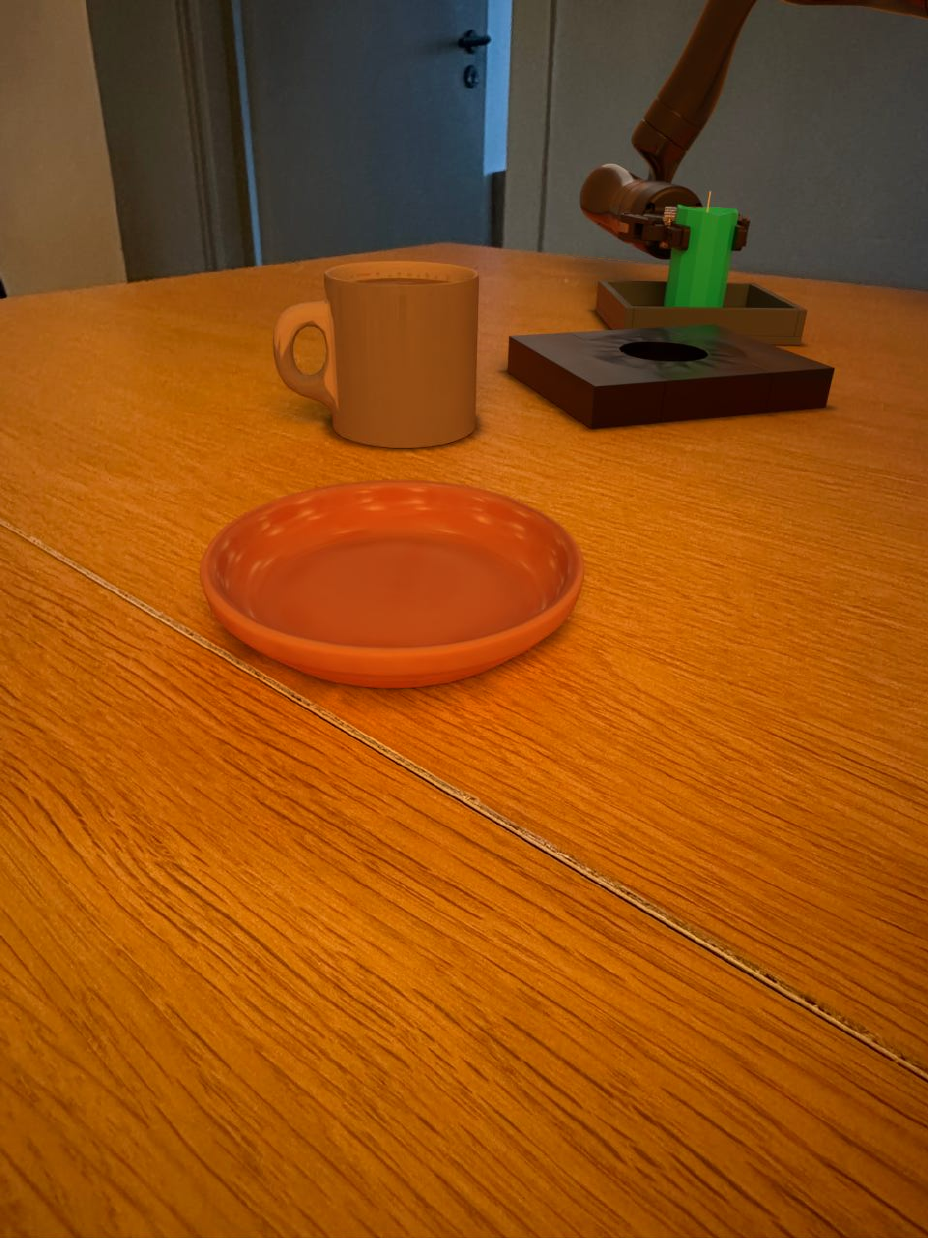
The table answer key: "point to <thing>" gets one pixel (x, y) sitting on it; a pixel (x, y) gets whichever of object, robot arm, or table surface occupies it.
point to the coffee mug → (391, 351)
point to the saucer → (392, 581)
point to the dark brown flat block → (665, 374)
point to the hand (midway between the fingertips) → (713, 239)
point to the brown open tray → (702, 310)
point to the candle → (701, 258)
